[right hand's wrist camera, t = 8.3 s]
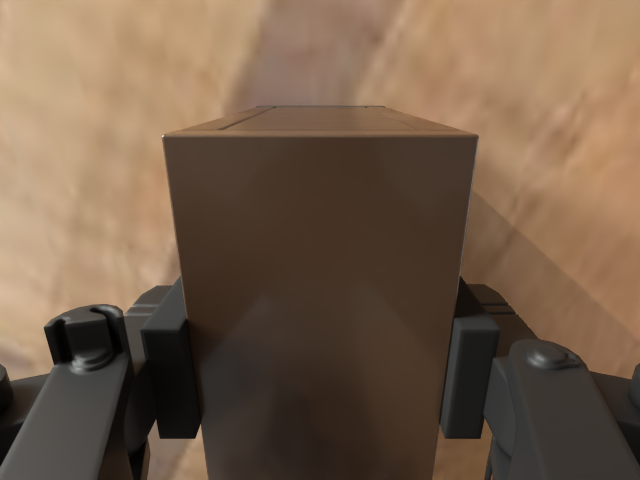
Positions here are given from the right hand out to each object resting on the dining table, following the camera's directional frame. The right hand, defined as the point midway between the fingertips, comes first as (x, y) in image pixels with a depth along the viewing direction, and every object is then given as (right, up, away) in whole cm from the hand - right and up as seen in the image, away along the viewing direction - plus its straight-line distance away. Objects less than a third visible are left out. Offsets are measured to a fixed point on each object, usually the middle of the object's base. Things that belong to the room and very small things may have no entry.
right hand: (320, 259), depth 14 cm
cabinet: (0, -1, +6) cm, 6 cm away
